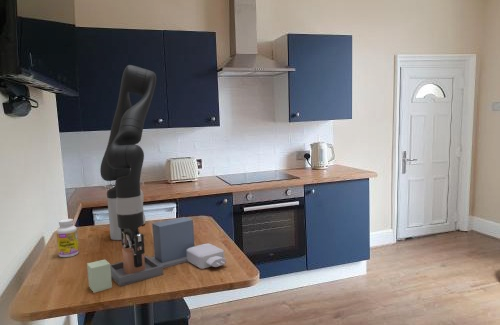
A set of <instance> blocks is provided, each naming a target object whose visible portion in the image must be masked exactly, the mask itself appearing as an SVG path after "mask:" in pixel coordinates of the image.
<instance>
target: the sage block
mask: <svg viewBox="0 0 500 325" xmlns="http://www.w3.org/2000/svg"><path fill="white" fill-rule="evenodd" d="M110 265H111V263H110V262H109V261H107V260H106V259H105V258H104V259H101V260H96V261H92V262H87V263H86V266H87V267H86V270H87V278H88V287H90V288H89V289H90V290H91V291H93V292H92V293H93V294H95V293H99V292H102V291H105V290H108V289H112V288H113V284H112V278H111V269H110Z"/></svg>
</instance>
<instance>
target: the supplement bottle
mask: <svg viewBox="0 0 500 325" xmlns="http://www.w3.org/2000/svg"><path fill="white" fill-rule="evenodd" d="M58 225H59V227H58V228H57V229H56V238H57V239H56V240H57V252H58V257H60V258H71V257H74V256H76V255H78V254H79V239H78V238H79V237H78V229H77V228H78V227H77V226H75V225H74V219H73V218H65V219H61V220H59V221H58Z"/></svg>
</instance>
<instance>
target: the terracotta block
mask: <svg viewBox="0 0 500 325" xmlns="http://www.w3.org/2000/svg"><path fill="white" fill-rule="evenodd" d="M138 250H139V248H138ZM121 253H122V254H121V255H122V262H123V267H124V272H126V273H127V274H132V273H135V272H139V271H142V270H145V260H144V256H145V253H144V254H142V266H141V267H137V268H136V267H135V266H134V255H133V251H132V249H130V247H129V248H124V247H123V248H121Z"/></svg>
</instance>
